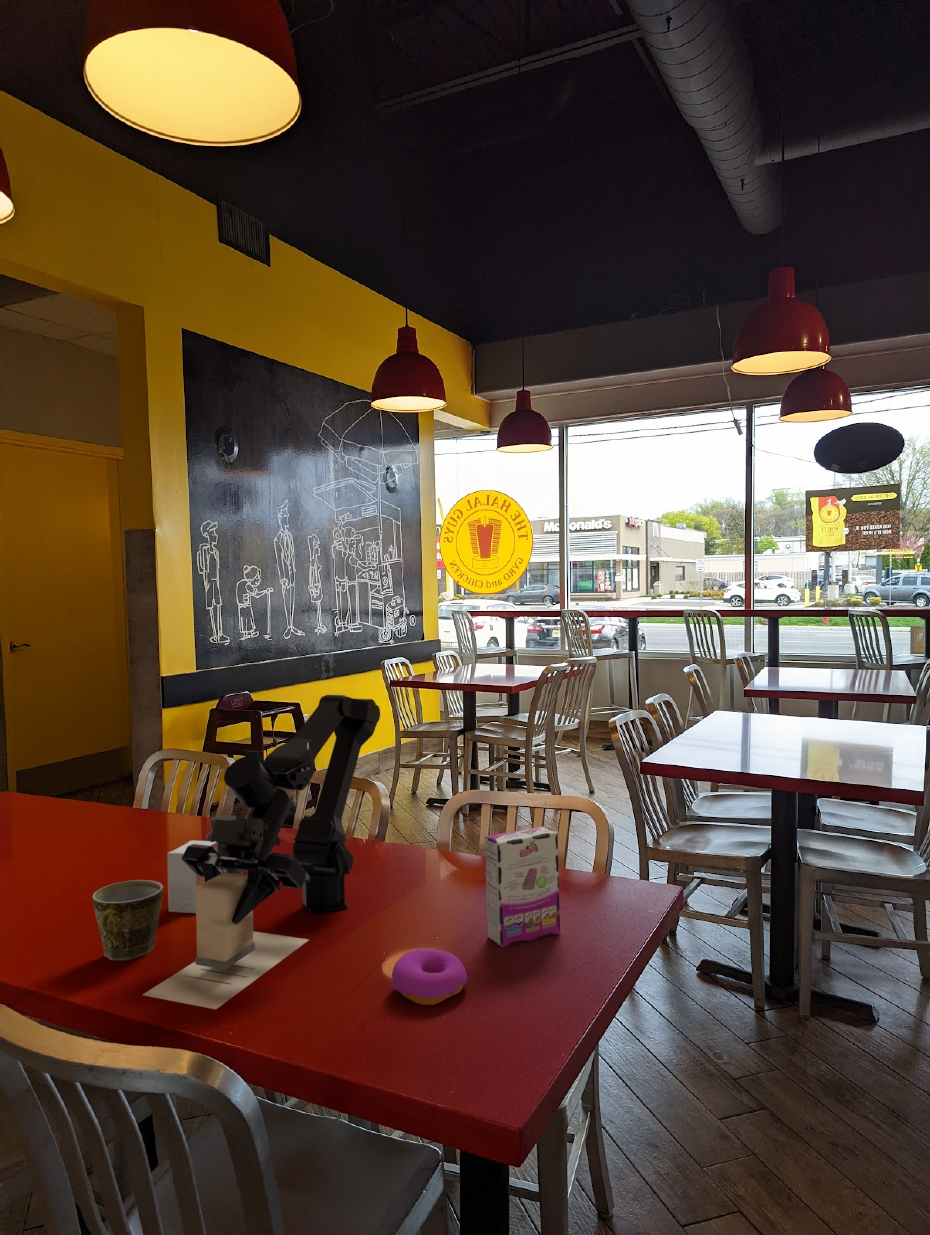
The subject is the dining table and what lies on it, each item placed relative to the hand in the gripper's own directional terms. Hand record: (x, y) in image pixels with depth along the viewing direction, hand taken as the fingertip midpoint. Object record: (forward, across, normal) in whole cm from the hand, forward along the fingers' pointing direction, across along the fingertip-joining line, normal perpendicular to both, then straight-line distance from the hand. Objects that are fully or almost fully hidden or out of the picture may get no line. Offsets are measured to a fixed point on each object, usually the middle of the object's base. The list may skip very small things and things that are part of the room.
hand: (219, 920), depth 116 cm
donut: (+2, +30, +11) cm, 32 cm away
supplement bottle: (-20, -26, +31) cm, 45 cm away
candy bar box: (-14, +37, +26) cm, 47 cm away
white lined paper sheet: (+4, 0, +8) cm, 9 cm away
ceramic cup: (+6, -18, +6) cm, 20 cm away
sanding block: (+3, 0, +5) cm, 6 cm away
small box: (-10, -23, +22) cm, 33 cm away
